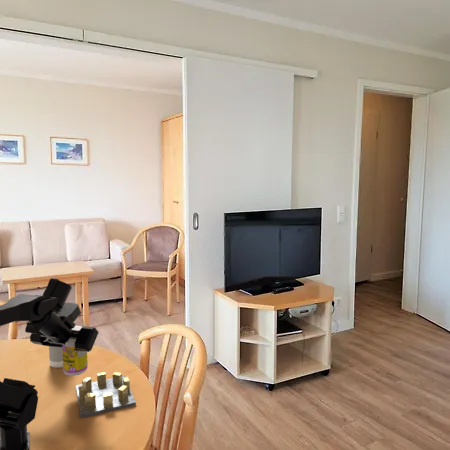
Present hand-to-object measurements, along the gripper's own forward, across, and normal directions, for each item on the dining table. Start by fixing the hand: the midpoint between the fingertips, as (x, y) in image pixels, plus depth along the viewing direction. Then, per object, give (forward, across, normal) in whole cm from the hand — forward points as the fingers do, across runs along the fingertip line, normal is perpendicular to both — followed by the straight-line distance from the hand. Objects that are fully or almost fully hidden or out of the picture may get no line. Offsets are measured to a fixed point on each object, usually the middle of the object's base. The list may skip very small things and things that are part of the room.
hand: (77, 347), depth 118 cm
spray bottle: (+19, +17, 0) cm, 25 cm away
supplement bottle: (+4, 0, +6) cm, 7 cm away
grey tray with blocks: (+9, -9, +10) cm, 16 cm away
